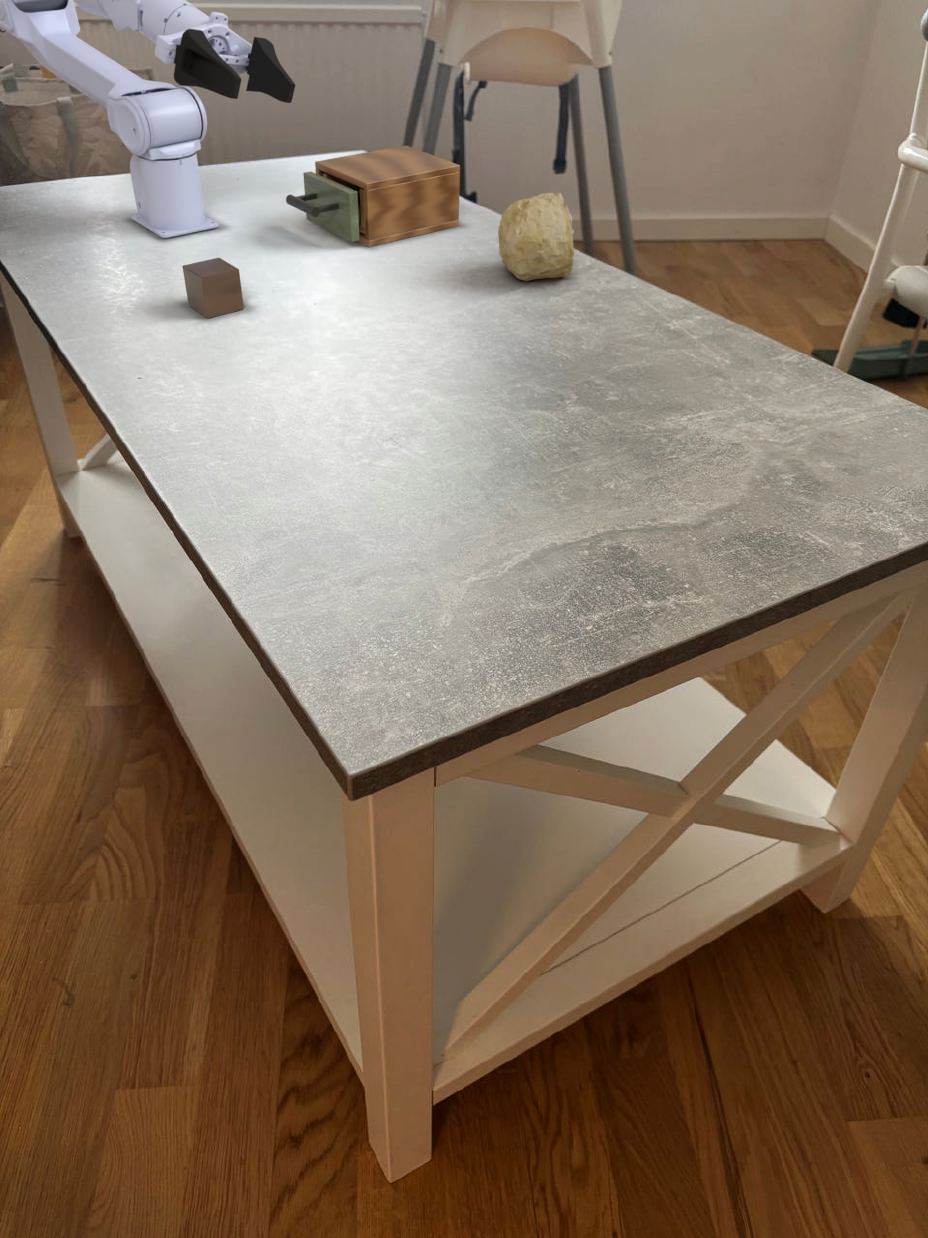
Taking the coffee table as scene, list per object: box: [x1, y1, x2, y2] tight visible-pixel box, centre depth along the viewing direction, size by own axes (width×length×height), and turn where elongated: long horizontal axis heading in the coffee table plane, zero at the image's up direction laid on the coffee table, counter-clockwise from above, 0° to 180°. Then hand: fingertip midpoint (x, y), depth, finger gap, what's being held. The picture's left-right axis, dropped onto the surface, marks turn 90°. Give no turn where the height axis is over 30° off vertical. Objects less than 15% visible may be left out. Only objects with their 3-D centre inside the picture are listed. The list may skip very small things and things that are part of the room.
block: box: [182, 257, 245, 319], centre depth 103 cm, size 4×4×4 cm
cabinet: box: [314, 145, 461, 248], centre depth 125 cm, size 15×12×8 cm
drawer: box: [285, 171, 365, 243], centre depth 123 cm, size 18×10×6 cm, turn 129°
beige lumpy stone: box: [497, 192, 575, 282], centre depth 112 cm, size 10×10×10 cm
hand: (264, 91), depth 103 cm, fingers open, 7 cm apart
